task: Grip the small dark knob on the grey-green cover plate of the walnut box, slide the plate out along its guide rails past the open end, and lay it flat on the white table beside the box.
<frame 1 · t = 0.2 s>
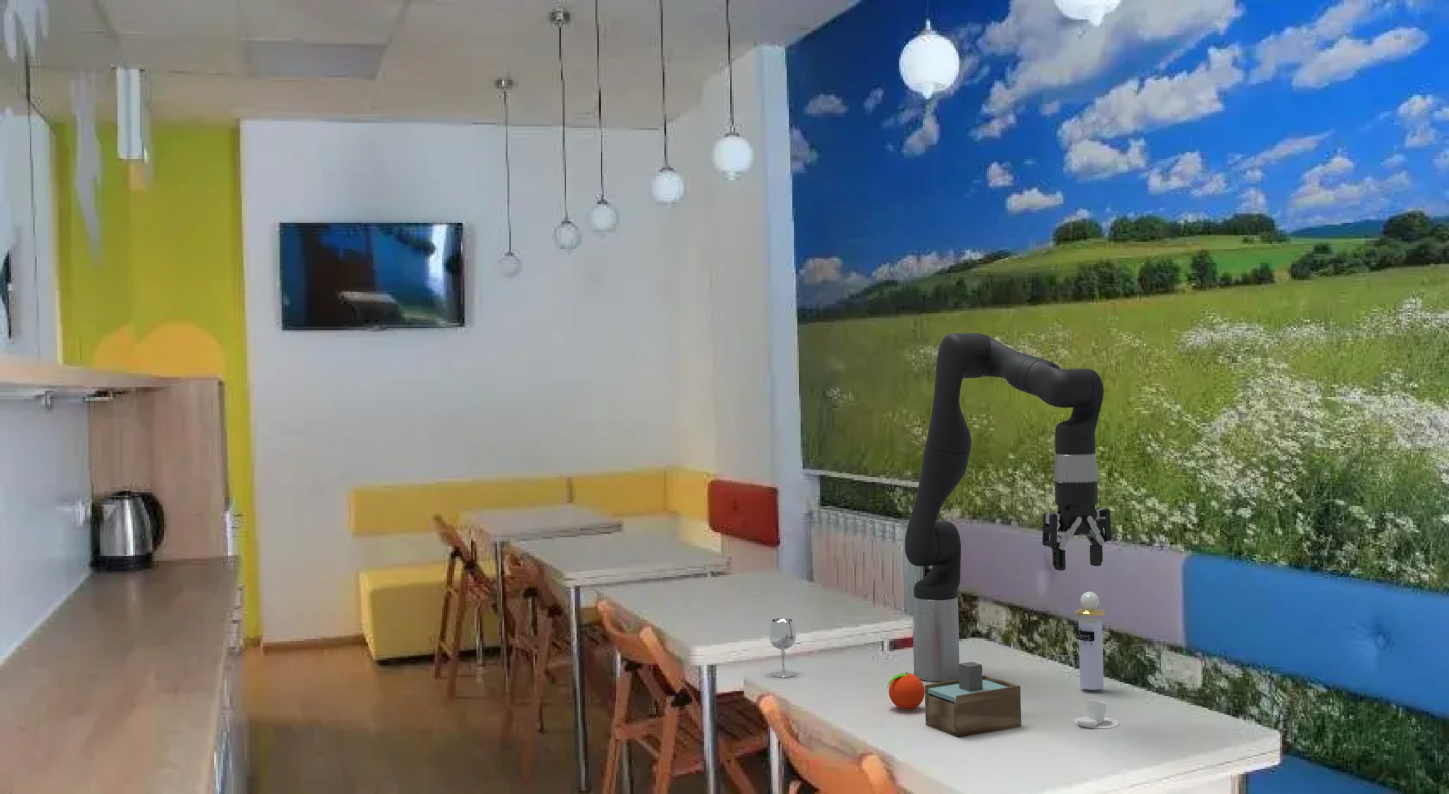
hand: (1077, 567, 223), 29 cm above the table, tool pointing down, fingers open, 8 cm apart
perfume bottle: (1092, 691, 248), on the table
box: (973, 725, 225), on the table
wineglass: (783, 675, 269), on the table
teacup and saucer: (1079, 725, 226), on the table
cover plate: (971, 693, 225), point 6 cm above the table, touching box
clementine: (904, 710, 237), on the table
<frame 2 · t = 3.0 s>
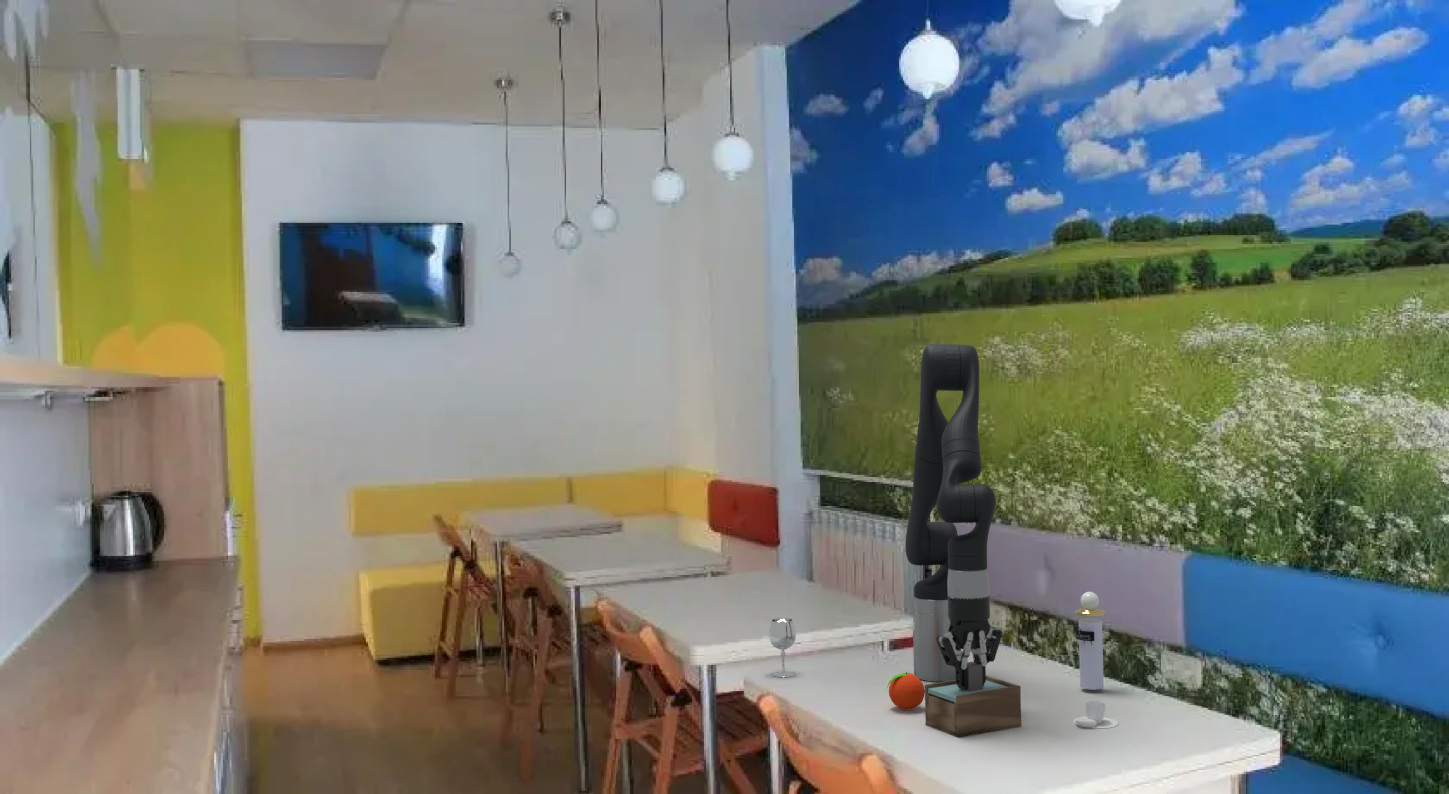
hand: (970, 687, 225), 7 cm above the table, tool pointing down, fingers closed on cover plate, 3 cm apart
cover plate: (971, 693, 225), point 6 cm above the table, touching box, gripper
everything else where it was.
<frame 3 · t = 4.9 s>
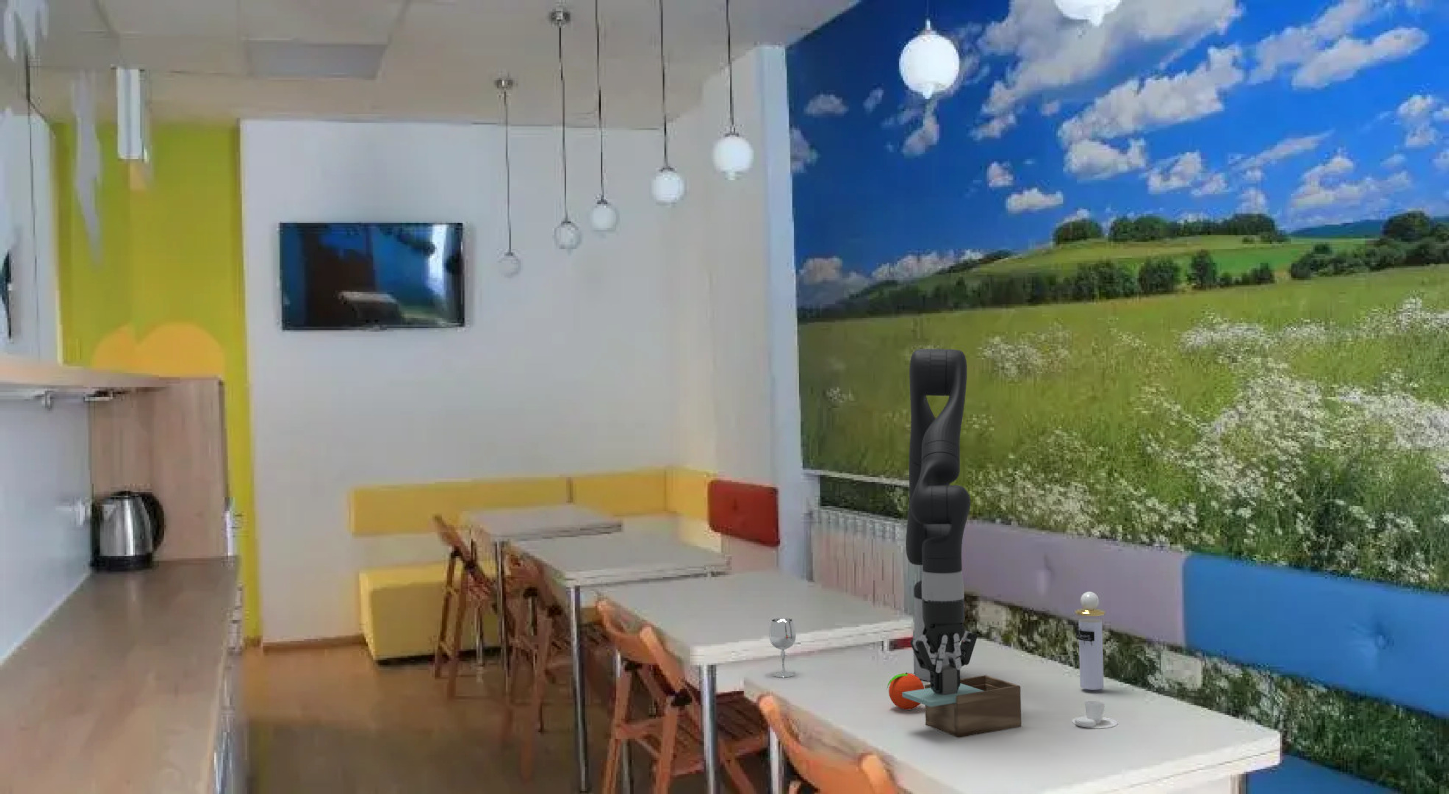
hand: (945, 690, 222), 7 cm above the table, tool pointing down, fingers closed on cover plate, 3 cm apart
cover plate: (945, 697, 222), point 6 cm above the table, touching gripper
everything else where it was.
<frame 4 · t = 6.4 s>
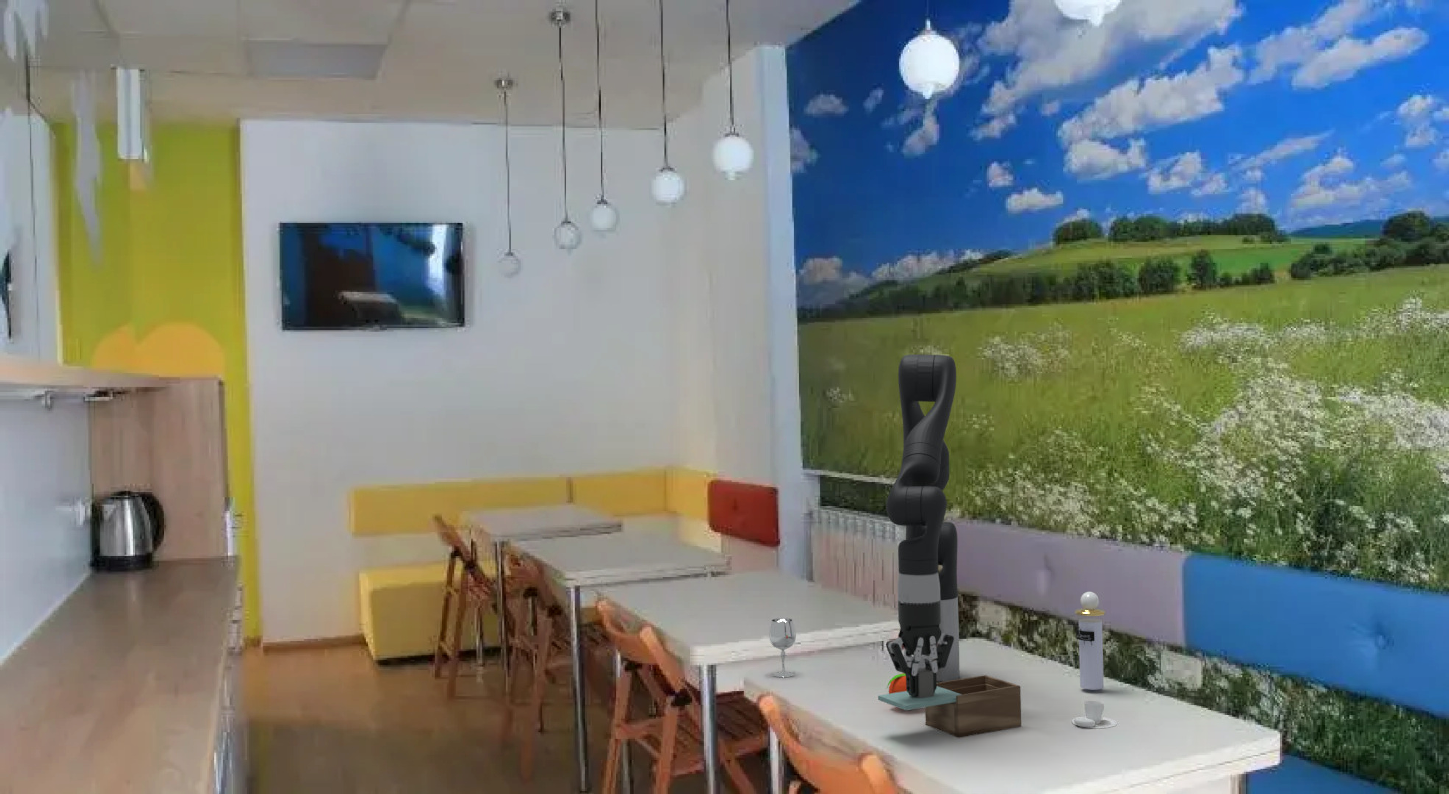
hand: (921, 693, 220), 7 cm above the table, tool pointing down, fingers closed on cover plate, 3 cm apart
cover plate: (921, 700, 220), point 6 cm above the table, touching gripper
everything else where it was.
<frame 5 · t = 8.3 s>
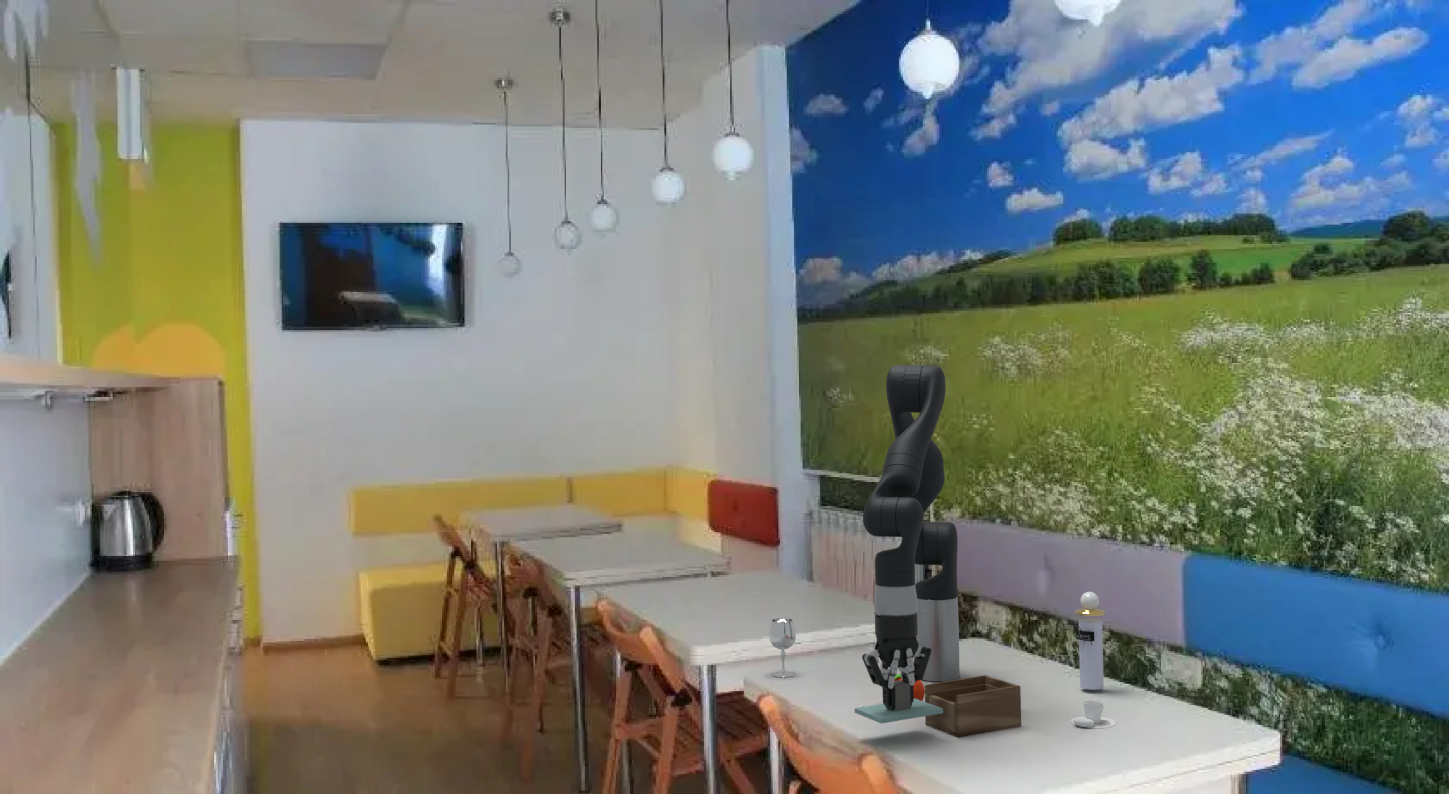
hand: (898, 706, 217), 6 cm above the table, tool pointing down, fingers closed on cover plate, 3 cm apart
cover plate: (898, 713, 217), point 5 cm above the table, touching gripper
everything else where it was.
when the fingers open (2 cm above the table, at t = 9.6 s): cover plate drops 2 cm, on the table.
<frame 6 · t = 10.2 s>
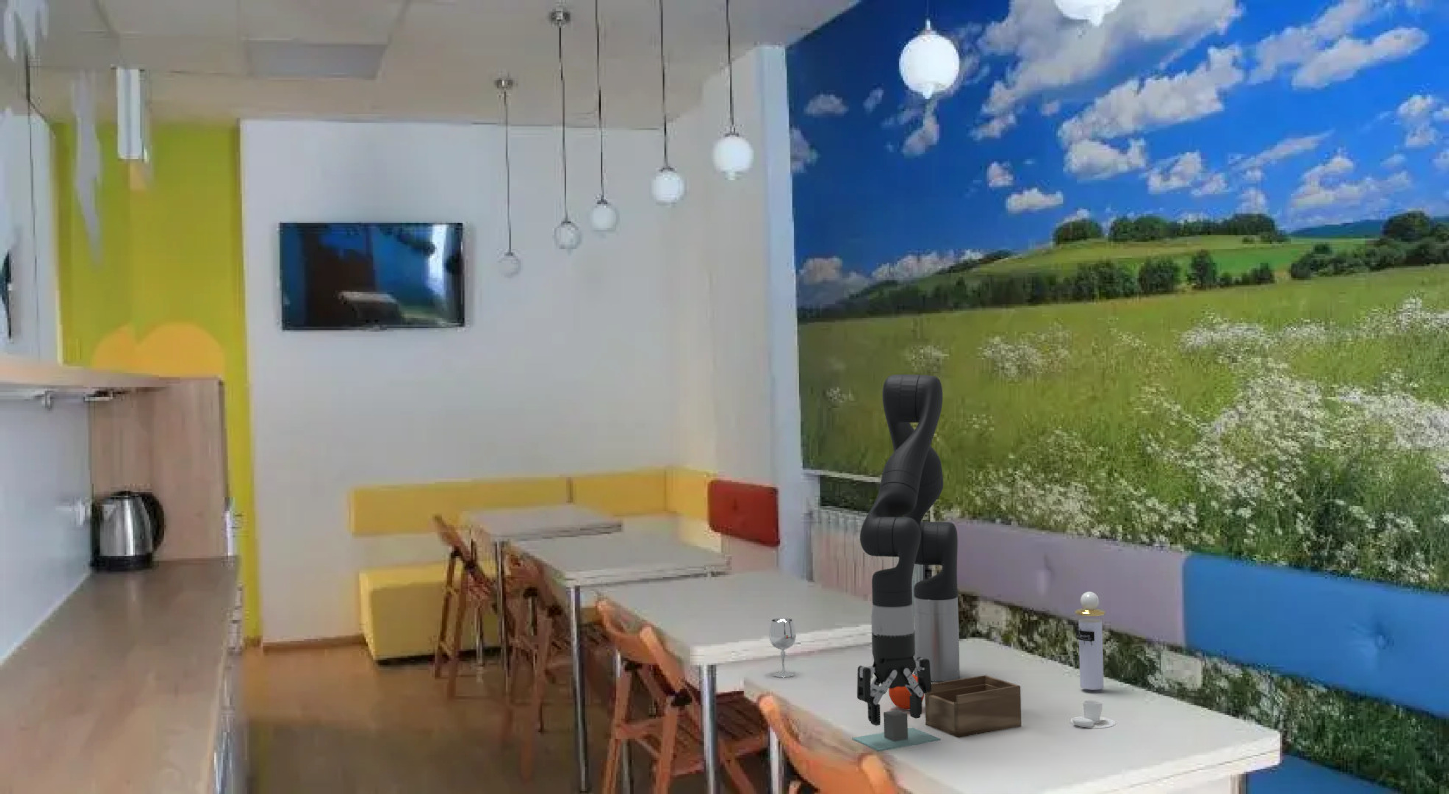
hand: (895, 721, 217), 3 cm above the table, tool pointing down, fingers open, 8 cm apart
cover plate: (896, 742, 217), on the table
everything else where it was.
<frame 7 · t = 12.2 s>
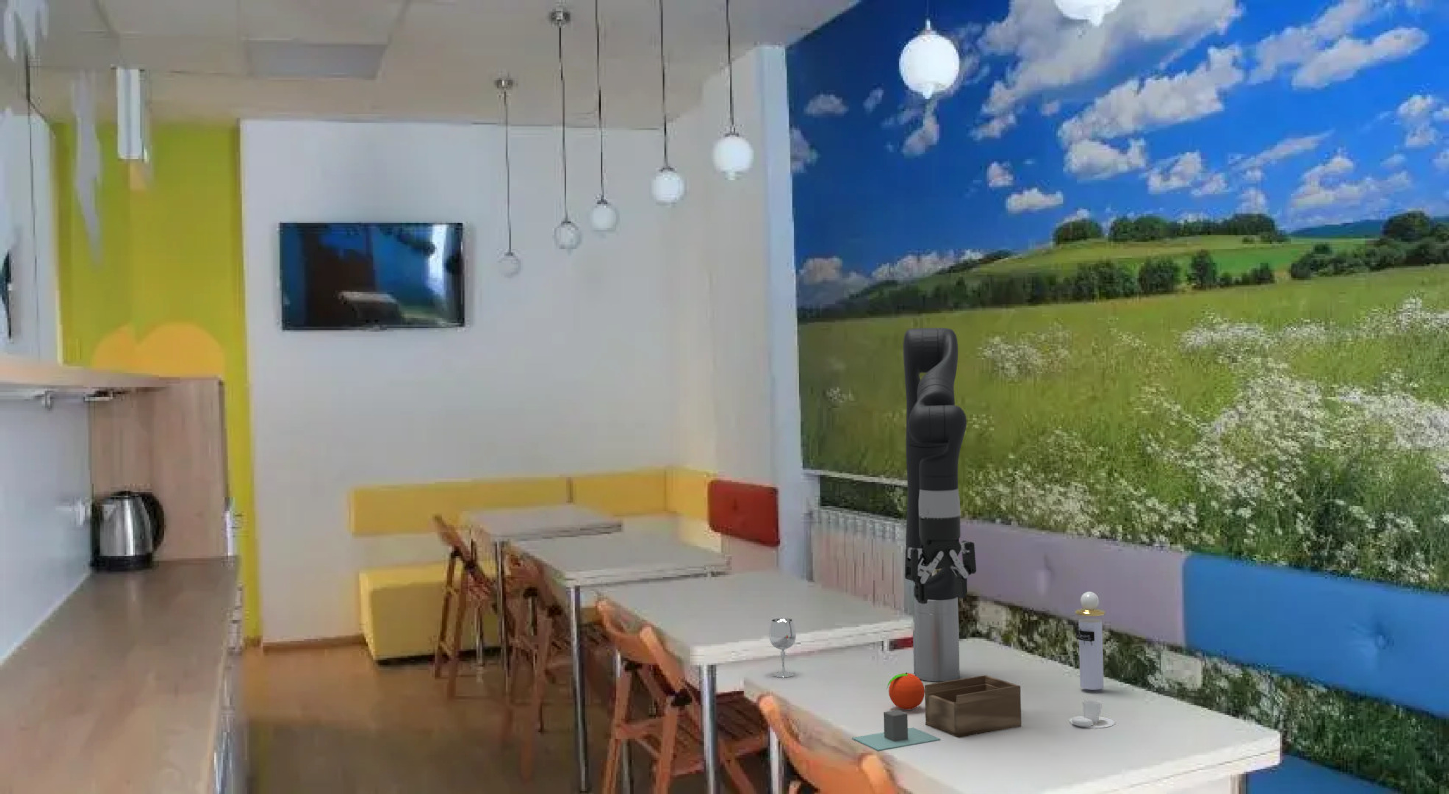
hand: (941, 600, 227), 23 cm above the table, tool pointing down, fingers open, 8 cm apart
nothing on the table moved.
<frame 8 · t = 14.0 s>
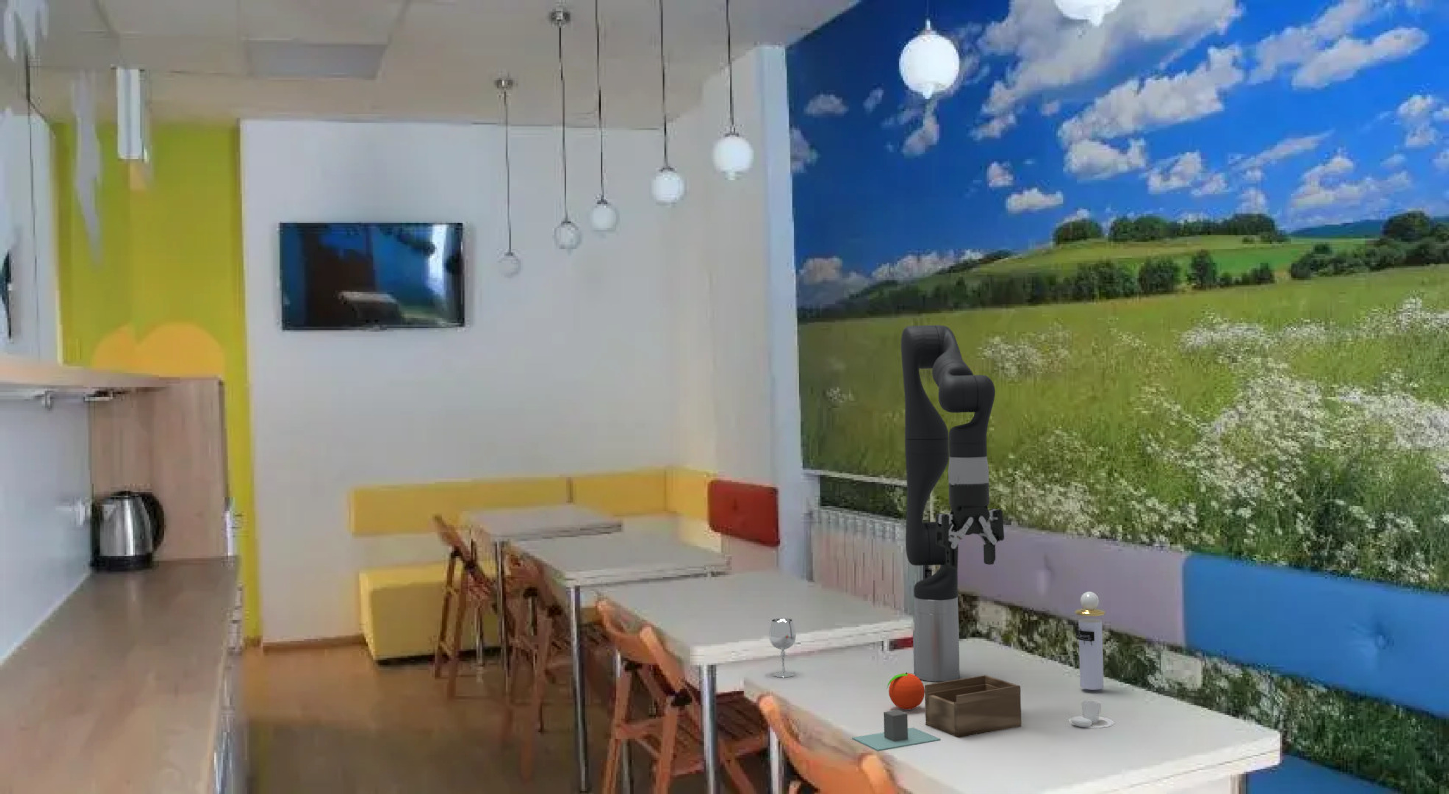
hand: (970, 566, 232), 28 cm above the table, tool pointing down, fingers open, 8 cm apart
nothing on the table moved.
at the end: cover plate inside the target area (0.6 cm from its centre), on the table; cover plate touching table; the gripper is holding nothing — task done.
